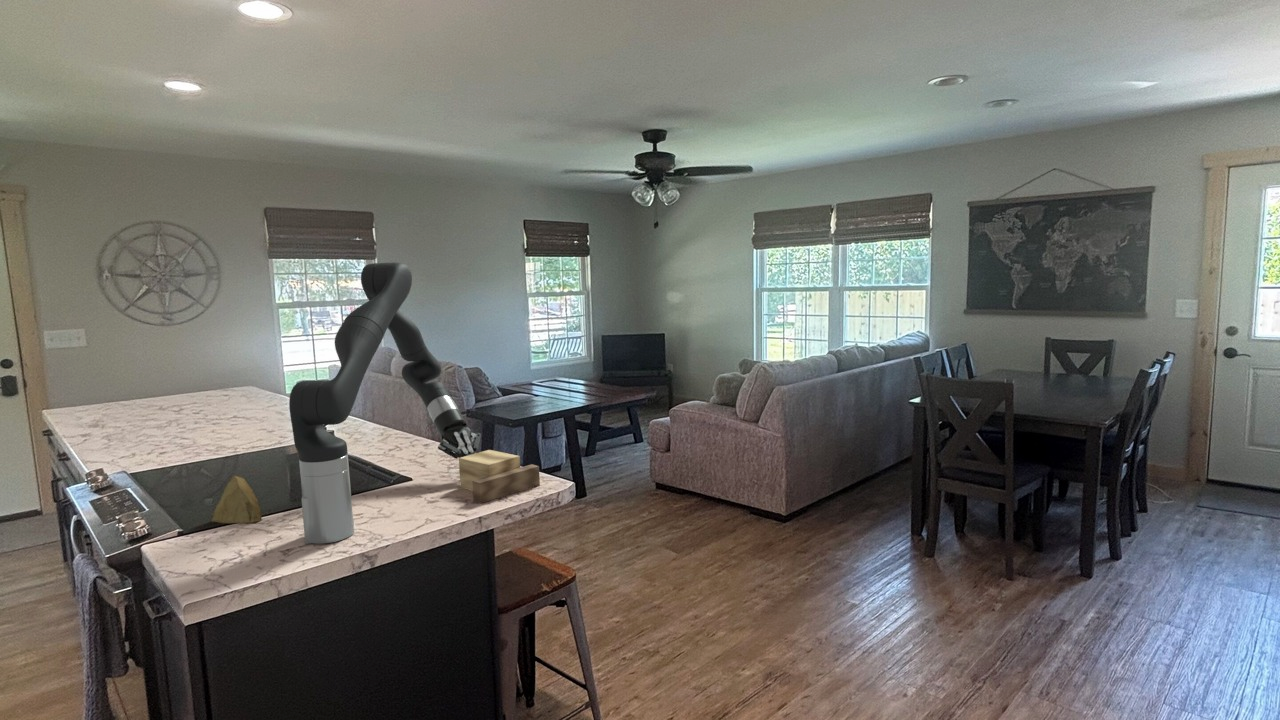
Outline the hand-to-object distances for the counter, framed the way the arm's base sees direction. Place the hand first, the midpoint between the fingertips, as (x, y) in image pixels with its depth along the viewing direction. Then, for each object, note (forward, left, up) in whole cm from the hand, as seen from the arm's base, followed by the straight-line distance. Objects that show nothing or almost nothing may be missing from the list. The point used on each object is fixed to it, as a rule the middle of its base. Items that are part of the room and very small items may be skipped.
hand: (474, 467), depth 178 cm
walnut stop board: (+6, -13, -4) cm, 15 cm away
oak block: (+3, -6, -4) cm, 8 cm away
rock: (-54, -5, -4) cm, 54 cm away
